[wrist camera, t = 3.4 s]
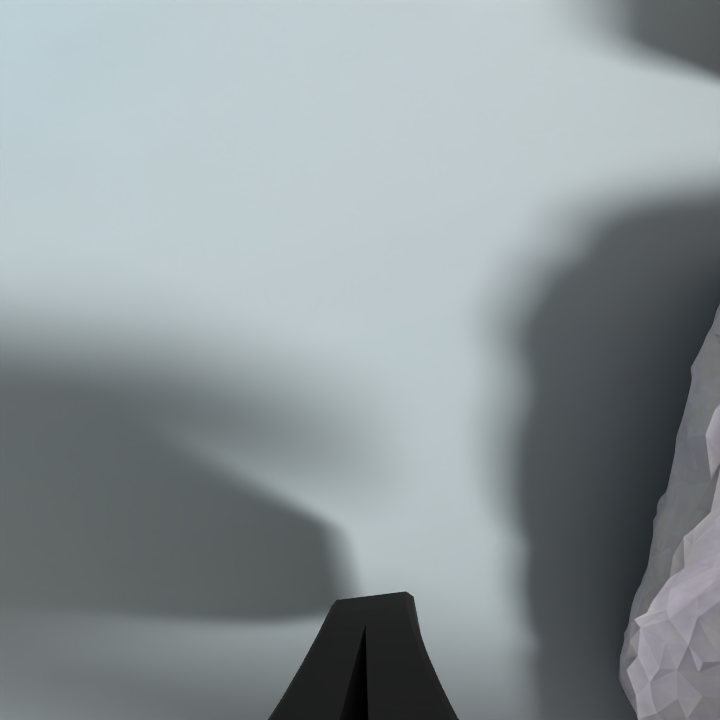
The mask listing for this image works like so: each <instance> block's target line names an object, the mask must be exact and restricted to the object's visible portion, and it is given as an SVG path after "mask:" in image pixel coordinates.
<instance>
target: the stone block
mask: <svg viewBox="0 0 720 720" xmlns="http://www.w3.org/2000/svg"><path fill="white" fill-rule="evenodd" d="M691 376H692V383H691V386H690V390H689V394H688V398H687V402H686V406H685V410H684V414H683V418H682V421H681V424H680V427H679V430H678V433H677V437H676V446H675V455H674V460H673V465H672V469H671V474H670V478H669V483H668V488H667V490H666V492H665V493H664V494H663V495H662V497H661V498H660V499H659V502H658V504H657V514H656V516H655V518H654V520H653V539H652V543H651V548H650V555H649V561H648V566H647V568H646V571H645V573H644V575H643V577H642V582H641V585H640V586H639V588H638V590H637V592H636V594H635V597H634V600H633V603H632V607H631V612H630V617H629V625H628V627H627V629H626V631H625V632H624V643H623V647H622V651H621V655H620V669H619V671H618V672H619V681H620V683H621V685H622V687H623V690H624V692H625V694H626V696H627V698H628V700H629V702H630V703H631V705H632V707H633V709H634V711H635V712H636V715H637V719H638V720H720V305H719V307H718V309H717V311H716V314H715V318H714V321H713V325H712V327H711V328H710V330H709V332H708V333H707V336H706V338H705V340H704V343H703V345H702V347H701V350H700V352H699V354H698V355H697V357H696V359H695V361H694V363H693V364H692V366H691Z"/></svg>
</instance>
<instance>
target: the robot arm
mask: <svg viewBox="0 0 720 720" xmlns="http://www.w3.org/2000/svg"><path fill="white" fill-rule="evenodd" d="M268 720H459V719H458V718H457V716H456V714H455V712H454V710H453V708H452V706H451V704H450V702H449V700H448V698H447V696H446V694H445V692H444V690H443V688H442V686H441V684H440V681H439V679H438V677H437V675H436V672H435V670H434V668H433V666H432V663H431V661H430V659H429V656H428V654H427V651H426V649H425V646H424V643H423V640H422V637H421V633H420V628H419V623H418V618H417V612H416V607H415V602H414V597H413V596H412V595H410V594H409V593H407V592H398V593H390V594H382V595H374V596H366V597H358V598H350V599H342V600H336V602H335V603H334V604H333V605H332V607H331V609H330V611H329V613H328V615H327V617H326V619H325V621H324V623H323V625H322V627H321V629H320V631H319V633H318V635H317V637H316V639H315V641H314V642H313V644H312V646H311V648H310V650H309V652H308V654H307V655H306V657H305V659H304V661H303V663H302V665H301V666H300V668H299V670H298V671H297V673H296V675H295V677H294V678H293V680H292V682H291V683H290V685H289V687H288V689H287V690H286V692H285V694H284V695H283V697H282V699H281V700H280V702H279V704H278V705H277V707H276V708H275V710H274V711H273V713H272V714H271V716H270V718H269V719H268Z"/></svg>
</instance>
